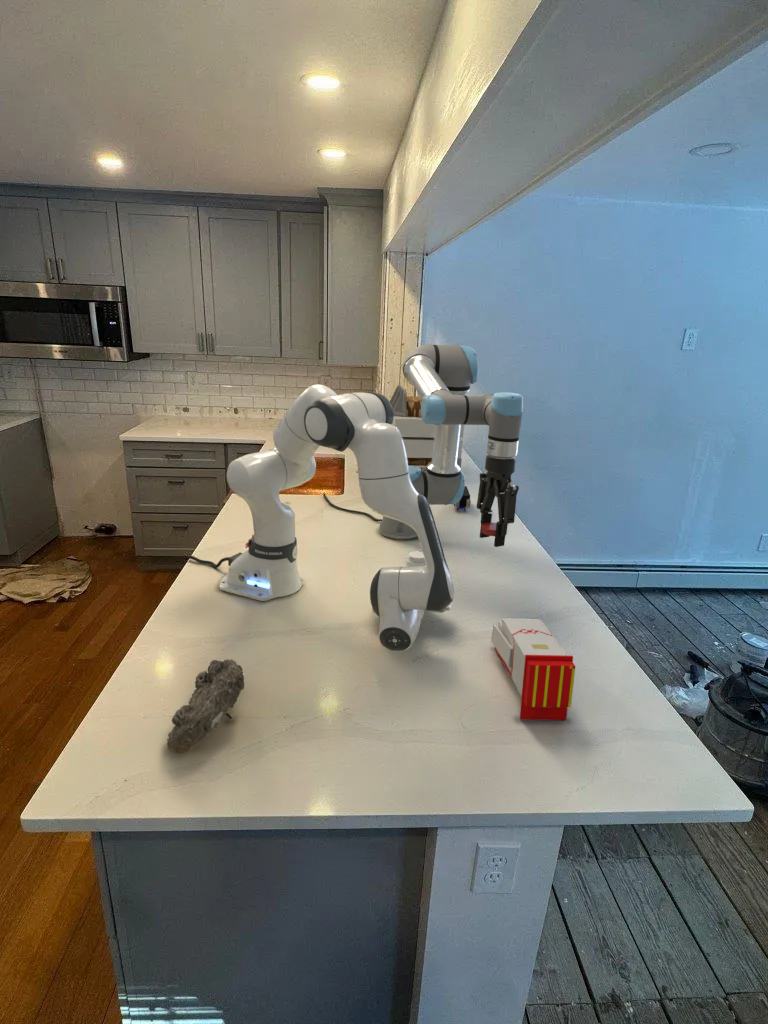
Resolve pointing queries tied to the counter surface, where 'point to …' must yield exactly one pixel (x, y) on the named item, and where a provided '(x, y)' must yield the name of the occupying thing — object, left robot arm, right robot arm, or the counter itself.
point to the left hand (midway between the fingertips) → (415, 581)
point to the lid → (488, 529)
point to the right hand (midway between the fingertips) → (491, 541)
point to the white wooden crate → (415, 429)
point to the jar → (415, 559)
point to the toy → (535, 667)
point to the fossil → (206, 705)
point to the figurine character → (464, 500)
